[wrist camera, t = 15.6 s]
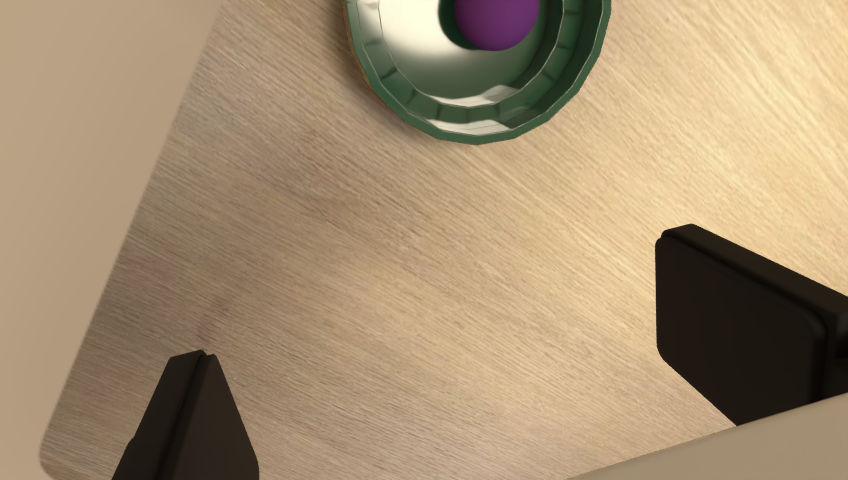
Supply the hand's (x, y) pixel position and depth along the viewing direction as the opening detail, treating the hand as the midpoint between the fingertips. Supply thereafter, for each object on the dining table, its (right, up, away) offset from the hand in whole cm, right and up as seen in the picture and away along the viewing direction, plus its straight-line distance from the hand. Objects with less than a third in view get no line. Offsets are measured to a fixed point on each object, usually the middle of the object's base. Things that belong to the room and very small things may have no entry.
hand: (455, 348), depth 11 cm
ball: (+4, +16, +21) cm, 26 cm away
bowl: (+2, +17, +23) cm, 29 cm away
